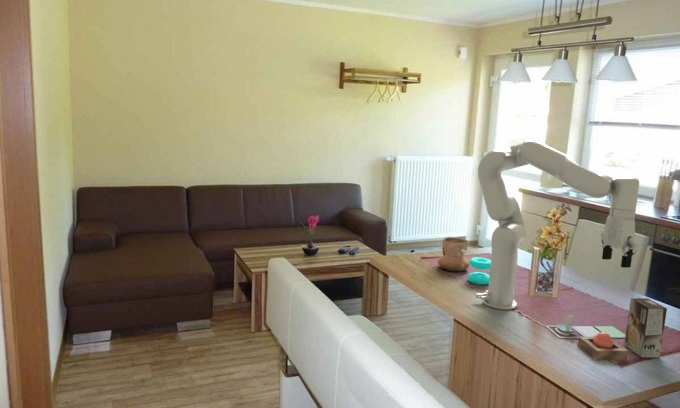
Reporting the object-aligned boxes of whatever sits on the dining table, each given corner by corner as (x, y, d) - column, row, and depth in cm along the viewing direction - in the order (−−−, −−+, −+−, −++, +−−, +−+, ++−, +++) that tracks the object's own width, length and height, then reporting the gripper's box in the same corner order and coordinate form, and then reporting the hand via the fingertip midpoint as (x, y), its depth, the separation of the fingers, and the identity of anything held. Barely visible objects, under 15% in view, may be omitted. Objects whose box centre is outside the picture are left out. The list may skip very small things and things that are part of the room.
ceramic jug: (476, 273, 238) (479, 243, 236) (448, 274, 233) (450, 244, 231) (456, 263, 255) (459, 235, 253) (430, 264, 250) (432, 235, 248)
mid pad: (587, 338, 172) (587, 337, 172) (572, 327, 180) (572, 326, 180) (606, 338, 172) (606, 337, 172) (591, 327, 181) (591, 326, 181)
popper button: (599, 350, 158) (601, 336, 157) (588, 342, 163) (590, 328, 162) (616, 350, 158) (618, 336, 158) (605, 342, 164) (607, 329, 163)
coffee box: (660, 358, 159) (668, 308, 157) (641, 357, 159) (649, 308, 156) (641, 344, 168) (648, 297, 166) (622, 344, 168) (629, 297, 165)
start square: (559, 338, 170) (559, 337, 170) (545, 326, 180) (545, 325, 180) (587, 338, 171) (587, 337, 171) (571, 326, 181) (571, 325, 181)
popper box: (595, 360, 156) (597, 350, 155) (577, 345, 166) (578, 336, 165) (626, 360, 157) (628, 350, 156) (606, 345, 167) (608, 336, 166)
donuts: (465, 256, 228) (485, 256, 231) (463, 278, 230) (483, 277, 232) (476, 263, 219) (497, 262, 221) (474, 285, 220) (495, 285, 223)
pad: (609, 338, 172) (609, 337, 172) (594, 327, 181) (594, 326, 181) (629, 338, 173) (629, 337, 173) (612, 327, 182) (612, 326, 182)
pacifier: (562, 337, 172) (579, 337, 172) (563, 320, 170) (580, 319, 171) (550, 328, 179) (567, 328, 179) (552, 311, 178) (568, 311, 178)
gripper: (595, 209, 181) (589, 256, 184) (629, 218, 164) (622, 270, 167) (615, 209, 182) (609, 256, 185) (651, 219, 165) (643, 270, 168)
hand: (615, 263), depth 176 cm, fingers open, 9 cm apart
